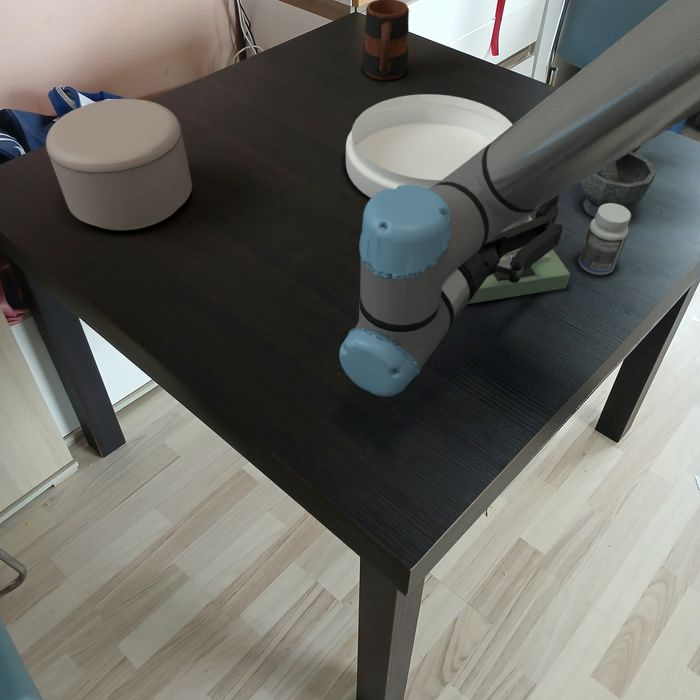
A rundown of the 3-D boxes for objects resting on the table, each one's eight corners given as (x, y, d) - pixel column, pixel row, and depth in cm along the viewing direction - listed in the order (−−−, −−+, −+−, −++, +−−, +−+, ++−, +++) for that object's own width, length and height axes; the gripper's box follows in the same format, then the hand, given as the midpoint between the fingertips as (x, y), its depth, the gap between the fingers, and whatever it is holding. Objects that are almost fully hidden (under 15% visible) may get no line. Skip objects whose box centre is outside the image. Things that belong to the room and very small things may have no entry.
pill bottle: (591, 248, 91) (608, 196, 85) (621, 265, 88) (642, 212, 82) (570, 263, 89) (587, 211, 82) (601, 281, 86) (621, 228, 80)
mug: (359, 89, 122) (360, 23, 114) (364, 60, 130) (365, -3, 122) (406, 91, 122) (411, 24, 113) (407, 62, 130) (412, -2, 121)
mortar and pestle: (653, 212, 96) (683, 137, 88) (612, 236, 92) (639, 160, 84) (591, 178, 102) (614, 104, 94) (550, 199, 99) (570, 124, 90)
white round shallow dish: (393, 234, 93) (395, 201, 89) (319, 142, 109) (318, 111, 105) (553, 190, 100) (561, 158, 96) (461, 110, 117) (465, 80, 113)
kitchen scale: (566, 288, 85) (572, 269, 83) (462, 305, 83) (466, 286, 81) (519, 219, 95) (524, 201, 93) (426, 233, 93) (428, 214, 91)
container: (129, 154, 107) (109, 84, 98) (218, 186, 101) (206, 114, 92) (42, 212, 96) (12, 138, 87) (137, 252, 90) (114, 176, 81)
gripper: (354, 273, 78) (439, 183, 91) (528, 345, 71) (595, 235, 84) (354, 221, 73) (445, 133, 86) (543, 293, 65) (612, 184, 78)
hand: (519, 183), depth 85 cm, fingers open, 9 cm apart
